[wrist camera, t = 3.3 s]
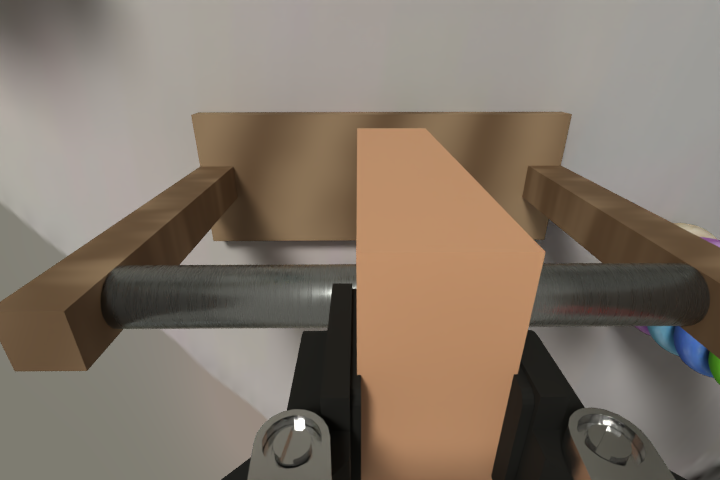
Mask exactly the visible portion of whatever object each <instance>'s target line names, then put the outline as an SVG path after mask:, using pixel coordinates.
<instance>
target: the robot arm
mask: <svg viewBox="0 0 720 480" xmlns="http://www.w3.org/2000/svg"><path fill="white" fill-rule="evenodd" d="M491 477H492V480H686V479H684V478H683V477H681V476H679V475H677V474H675V473H674V472H672V471H670V470H669V469H668V467H667V466H666V464H665V463H664V461H663V460H662V458H661V457H660V455H659V454H658V452H657V451H656V449H655V448H654V446H653V445H652V443H651V442H650V440H649V439H648V438H647V437H646V436H645V434H644V433H643V432H642V431H641V430H640V429H639V428H637V427H636V426H635V425H634V424H633V423H631V422H630V421H628V420H627V419H625V418H623V417H621V416H620V415H618V414H615V413H613V412H610V411H607V410H604V409H598V408H585V407H584V406H583V404H582V403H581V401H580V400H579V398H578V397H577V395H576V394H575V392H574V391H573V389H572V387H571V386H570V384H569V383H568V381H567V380H566V378H565V377H564V375H563V374H562V372H561V371H560V369H559V368H558V366H557V364H556V363H555V361H554V360H553V358H552V357H551V355H550V354H549V352H548V351H547V349H546V348H545V346H544V345H543V343H542V341H541V340H540V338H539V337H538V335H537V334H536V333H535V332H534V331H532V330H528V331H527V335H526V340H525V344H524V349H523V353H522V357H521V362H520V366H519V370H518V374H514V376H513V380H512V385H511V389H510V394H509V398H508V402H507V407H506V411H505V416H504V420H503V425H502V429H501V434H500V438H499V443H498V447H497V452H496V456H495V461H494V465H493V470H492V474H491ZM222 480H361V375H357V289H352V283H333V285H332V294H331V303H330V312H329V321H328V330H327V331H304V332H303V334H302V338H301V343H300V348H299V353H298V358H297V363H296V368H295V373H294V378H293V383H292V388H291V392H290V397H289V402H288V407H287V411H283V412H281V413H279V414H277V415H275V416H273V417H271V418H270V419H269V420H268V421H266V422H265V423H264V424H263V425H262V427H261V428H260V430H259V431H258V432H257V435H256V437H255V440H254V443H253V449H252V455H251V458H250V459H248V460H247V461H245V462H244V463H243V464H242V465H240V466H239V467H238V468H236V469H235V470H233V471H232V472H231V473H229V474H228V475H227V476H225V477H224V478H223V479H222Z"/></svg>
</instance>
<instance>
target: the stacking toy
mask: <svg viewBox="0 0 720 480" xmlns="http://www.w3.org/2000/svg"><path fill="white" fill-rule="evenodd" d="M673 224H675V225H677V226H679V227H681V228H683V229H685V230H687V231H689V232H691V233H693V234H695V235H696V236H698V237H700V238H702V239H704V240H706V241H708V242H710V243H712V244H714V245H716V246H718V247H720V240H717V239H716V238H715V237H714V236H713V235H712V234H711V233H709V232H708V231H706V230H705V229H702V228H700V227H698V226H695V225H691V224H684V223H673ZM635 327H636V328H637V329H639V330H640V331H642V332H644V333H645V334H648V335H650V336H652V338H653V339H654V340H655V341H656V342H657V343H658V344H659V345H660V346H661V347H662V348H664V349H665V350H667V351H668V352H670V353H672V354H675V355H677V356H680V358H681V359H682V360H683V362H684V363H685V364H686V365H688V366H689V367H690V368H691V369H693V370H695V371H696V372H698V373H700V374H703V375H706V376H709V377H713V378H715V380H716V381H717V382H718V383H719V384H720V359H719V358H717V357H716V356H715V355H714V354H713V353H711V352H710V351H709V350H708V349H707V348H705V347H704V346H703V345H702V344H700V343H699V342H698V341H697V340H696V339H694V338H693V337H692V336H691V335H689V334H688V333H687V332H686V331H685V330H683V329H682V328H681V327H680V326H635Z"/></svg>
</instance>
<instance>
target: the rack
mask: <svg viewBox="0 0 720 480" xmlns="http://www.w3.org/2000/svg"><path fill="white" fill-rule="evenodd" d="M191 116H192V122H193V128H194V133H195V139H196V145H197V150H198V156H199V161H200V167H199V168H197V169H196V170H194V171H193V172H192V173H190V174H189V175H187V176H186V177H184V178H183V179H181V180H180V181H178V182H177V183H175V184H174V185H172V186H171V187H169V188H168V189H166V190H165V191H163V192H162V193H160V194H159V195H158V196H156V197H155V198H153V199H152V200H150V201H149V202H147V203H146V204H144V205H143V206H141V207H140V208H138V209H137V210H135V211H134V212H132V213H131V214H129V215H128V216H126V217H125V218H123V219H122V220H121V221H119V222H118V223H116V224H115V225H113V226H112V227H110V228H109V229H107V230H106V231H104V232H103V233H101V234H100V235H98V236H97V237H95V238H94V239H92V240H91V241H89V242H88V243H87V244H85V245H84V246H82V247H81V248H79V249H78V250H76V251H75V252H73V253H72V254H70V255H69V256H67V257H66V258H64V259H63V260H61V261H60V262H58V263H57V264H56V265H54V266H52V267H51V268H50V269H48V270H47V271H45V272H44V273H42V274H41V275H39V276H38V277H36V278H35V279H33V280H32V281H30V282H29V283H27V284H26V285H24V286H23V287H22V288H20V289H18V290H17V291H16V292H14V293H13V294H11V295H10V296H8V297H7V298H5V299H4V300H2V301H1V302H0V342H1V344H2V346H3V348H4V350H5V352H6V354H7V356H8V358H9V360H10V362H11V364H12V366H13V368H14V370H15V371H87V370H88V369H89V368H90V367H91V366H92V364H93V363H94V362H95V361H96V360H97V359H98V358H99V357H100V355H101V354H102V353H103V352H104V351H105V350H106V348H107V347H108V346H109V345H110V344H111V343H112V342H113V340H114V339H115V338H116V337H117V336H118V335H119V334H120V332H121V331H122V330H123V329H195V328H328V321H329V312H330V303H331V294H332V285H333V283H352V289H357V273H356V264H340V265H180V263H181V262H182V261H183V260H184V259H185V258H186V257H187V255H188V254H189V253H190V252H191V251H192V250H193V249H194V247H195V246H196V245H197V244H198V243H199V242H200V240H201V239H202V238H203V237H204V236H205V235H206V234H207V232H208V231H209V230H210V229H212V235H213V240H214V241H317V240H356V236H357V128H426V129H427V130H428V131H429V132H430V133H431V135H432V136H433V137H434V138H435V139H436V140H437V141H438V142H439V143H440V144H441V145H442V146H443V147H444V148H445V149H446V150H447V151H448V152H449V153H450V154H451V155H452V156H453V157H454V158H455V159H456V160H457V161H458V162H459V163H460V164H461V165H462V166H463V168H464V169H465V170H466V171H467V172H468V173H469V174H470V175H471V176H472V177H473V178H474V179H475V180H476V181H477V182H478V183H479V184H480V185H481V186H482V187H483V188H484V189H485V190H486V191H487V192H488V193H489V194H490V195H491V196H492V197H493V198H494V199H495V201H496V202H497V203H498V204H499V205H500V206H501V207H502V208H503V209H504V210H505V211H506V212H507V213H508V214H509V215H510V216H511V217H512V218H513V219H514V220H515V221H516V222H517V223H518V224H519V225H520V226H521V227H522V228H523V229H524V230H525V231H526V232H527V233H528V235H529V236H530V237H531V238H532V239H533V240H544V238H545V234H546V229H547V225H548V220H549V219H550V220H551V221H552V222H553V223H555V224H556V225H557V226H558V227H560V228H561V229H562V230H563V231H564V232H566V233H567V234H568V235H569V236H570V237H572V238H573V239H574V240H575V241H577V242H578V243H579V244H580V245H581V246H583V247H584V248H585V249H586V250H587V251H589V252H590V253H591V254H592V255H594V256H595V257H596V258H597V259H598V260H600V261H601V262H602V263H573V264H543V265H542V270H541V274H540V279H539V283H538V287H537V292H536V296H535V300H534V305H533V309H532V314H531V318H530V322H529V327H571V326H680V327H681V328H682V329H683V330H685V331H686V332H687V333H688V334H689V335H691V336H692V337H693V338H694V339H696V340H697V341H698V342H699V343H700V344H702V345H703V346H704V347H705V348H707V349H708V350H709V351H710V352H711V353H713V354H714V355H715V356H716V357H717V358H719V359H720V247H718V246H716V245H714V244H712V243H710V242H708V241H706V240H704V239H702V238H700V237H698V236H696V235H695V234H693V233H691V232H689V231H687V230H685V229H683V228H681V227H679V226H677V225H675V224H673V223H671V222H669V221H667V220H665V219H663V218H662V217H660V216H658V215H656V214H654V213H652V212H650V211H648V210H646V209H644V208H642V207H640V206H638V205H636V204H634V203H632V202H630V201H628V200H627V199H625V198H623V197H621V196H619V195H617V194H615V193H613V192H611V191H609V190H607V189H605V188H603V187H601V186H599V185H597V184H595V183H594V182H592V181H590V180H588V179H586V178H584V177H582V176H580V175H578V174H576V173H574V172H572V171H570V170H568V169H566V168H564V167H562V166H561V161H562V157H563V152H564V148H565V143H566V139H567V134H568V129H569V125H570V120H571V116H572V114H568V113H564V112H238V113H196V114H193V115H191Z"/></svg>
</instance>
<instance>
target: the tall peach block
mask: <svg viewBox="0 0 720 480" xmlns="http://www.w3.org/2000/svg"><path fill="white" fill-rule="evenodd" d="M544 257H545V251H544V250H543V249H542V248H541V247H540V246H539V245H538V244H537V243H536V242H535V241H534V240H533V239H532V238H531V237H530V236H529V235H528V233H527V232H526V231H525V230H524V229H523V228H522V227H521V226H520V225H519V224H518V223H517V222H516V221H515V220H514V219H513V218H512V217H511V216H510V215H509V214H508V213H507V212H506V211H505V210H504V209H503V208H502V207H501V206H500V205H499V204H498V203H497V202H496V201H495V199H494V198H493V197H492V196H491V195H490V194H489V193H488V192H487V191H486V190H485V189H484V188H483V187H482V186H481V185H480V184H479V183H478V182H477V181H476V180H475V179H474V178H473V177H472V176H471V175H470V174H469V173H468V172H467V171H466V170H465V169H464V168H463V166H462V165H461V164H460V163H459V162H458V161H457V160H456V159H455V158H454V157H453V156H452V155H451V154H450V153H449V152H448V151H447V150H446V149H445V148H444V147H443V146H442V145H441V144H440V143H439V142H438V141H437V140H436V139H435V138H434V137H433V136H432V135H431V133H430V132H429V131H428V130H427V129H426V128H357V236H356V273H357V375H361V480H492V477H491V474H492V470H493V465H494V461H495V456H496V452H497V447H498V443H499V438H500V434H501V429H502V425H503V420H504V416H505V411H506V407H507V402H508V398H509V394H510V389H511V385H512V380H513V376H514V374H518V370H519V366H520V362H521V357H522V353H523V349H524V344H525V340H526V335H527V331H528V327H529V322H530V318H531V314H532V309H533V305H534V300H535V296H536V292H537V287H538V283H539V279H540V274H541V270H542V265H543V261H544Z"/></svg>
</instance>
